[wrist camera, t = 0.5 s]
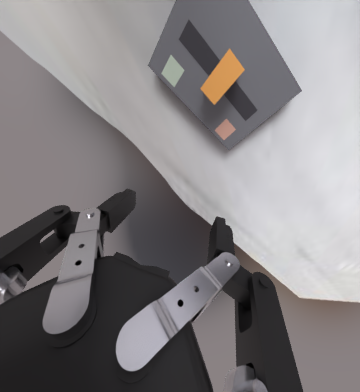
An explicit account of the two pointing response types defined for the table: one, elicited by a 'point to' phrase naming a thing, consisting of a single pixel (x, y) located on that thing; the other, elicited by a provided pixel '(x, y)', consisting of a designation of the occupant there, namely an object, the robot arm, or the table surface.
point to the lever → (222, 77)
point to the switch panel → (211, 56)
